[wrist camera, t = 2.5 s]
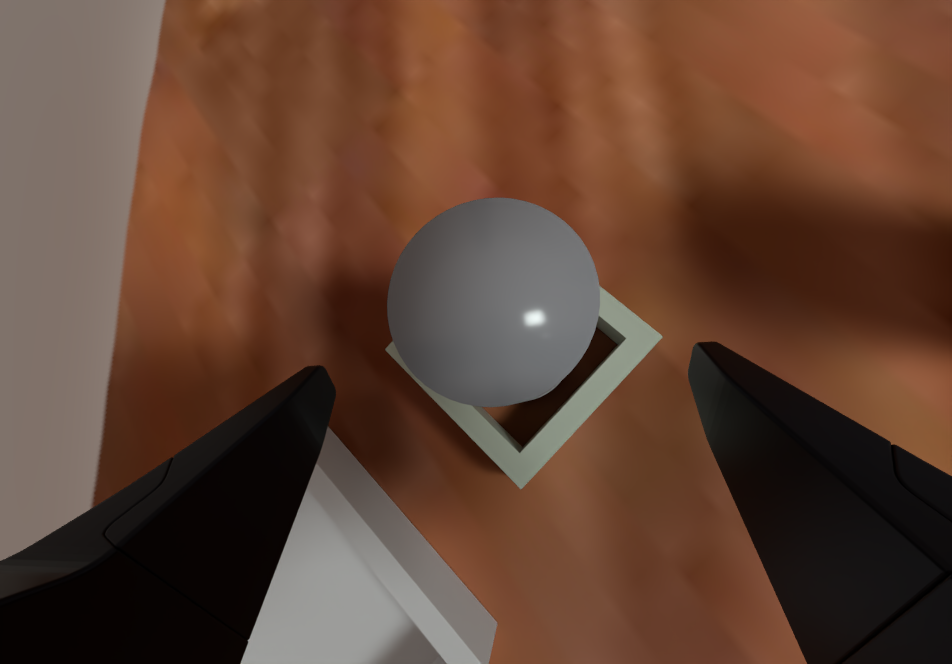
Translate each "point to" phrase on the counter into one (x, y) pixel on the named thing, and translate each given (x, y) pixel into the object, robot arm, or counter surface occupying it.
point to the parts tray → (363, 583)
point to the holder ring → (531, 457)
